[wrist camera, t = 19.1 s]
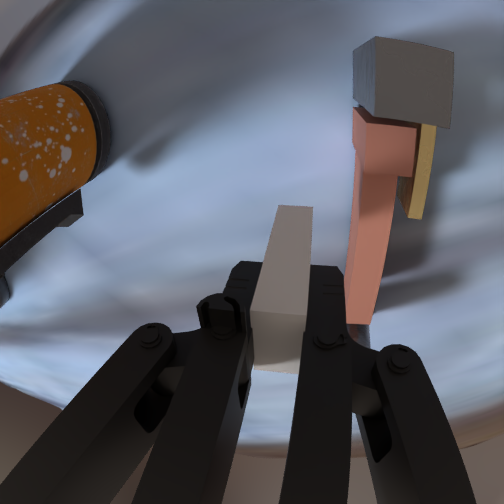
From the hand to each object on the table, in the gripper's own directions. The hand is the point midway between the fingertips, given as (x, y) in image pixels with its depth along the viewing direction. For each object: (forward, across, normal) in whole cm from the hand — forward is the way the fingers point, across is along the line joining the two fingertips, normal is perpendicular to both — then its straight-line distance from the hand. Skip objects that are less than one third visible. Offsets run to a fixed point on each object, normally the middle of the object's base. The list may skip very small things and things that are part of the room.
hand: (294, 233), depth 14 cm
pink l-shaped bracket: (+7, +4, -1) cm, 8 cm away
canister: (+8, -18, +4) cm, 19 cm away
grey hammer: (+7, +5, +4) cm, 10 cm away
